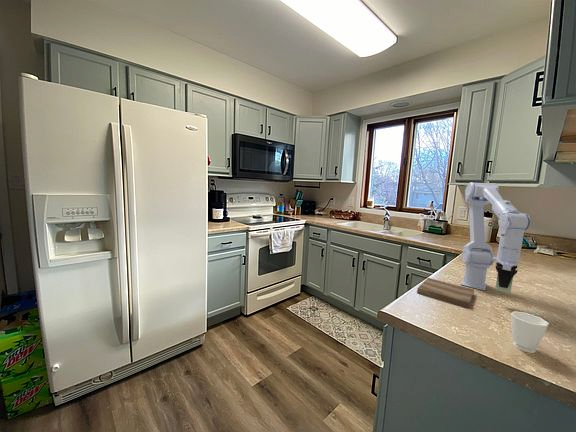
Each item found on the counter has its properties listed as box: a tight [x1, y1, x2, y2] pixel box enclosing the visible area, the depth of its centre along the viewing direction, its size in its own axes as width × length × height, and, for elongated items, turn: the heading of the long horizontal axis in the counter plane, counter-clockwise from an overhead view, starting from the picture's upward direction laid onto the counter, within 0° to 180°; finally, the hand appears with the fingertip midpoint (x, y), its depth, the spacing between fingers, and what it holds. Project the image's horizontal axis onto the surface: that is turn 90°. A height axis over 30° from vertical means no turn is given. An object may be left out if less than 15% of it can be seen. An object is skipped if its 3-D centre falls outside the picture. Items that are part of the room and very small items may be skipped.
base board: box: [416, 277, 475, 309], centre depth 94 cm, size 16×16×2 cm
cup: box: [510, 310, 550, 354], centre depth 63 cm, size 7×10×8 cm
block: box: [494, 274, 514, 294], centre depth 85 cm, size 4×4×6 cm
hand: (503, 285), depth 85 cm, fingers closed on block, 4 cm apart
